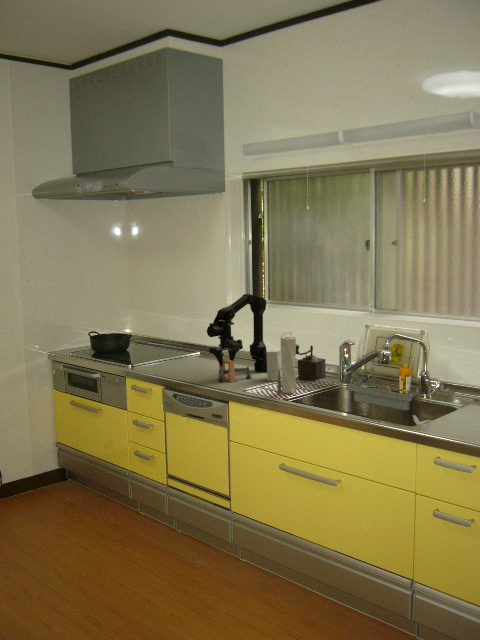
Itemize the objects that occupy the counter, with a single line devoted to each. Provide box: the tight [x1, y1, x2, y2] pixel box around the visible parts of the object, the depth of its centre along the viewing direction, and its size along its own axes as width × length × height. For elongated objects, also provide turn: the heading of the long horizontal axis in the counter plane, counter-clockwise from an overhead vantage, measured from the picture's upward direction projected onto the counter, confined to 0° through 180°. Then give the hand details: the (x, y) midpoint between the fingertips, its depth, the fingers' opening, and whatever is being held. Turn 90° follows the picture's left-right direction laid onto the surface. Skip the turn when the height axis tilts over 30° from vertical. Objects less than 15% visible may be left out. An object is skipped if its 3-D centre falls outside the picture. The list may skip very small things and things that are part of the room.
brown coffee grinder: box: [296, 343, 327, 382], centre depth 334 cm, size 16×11×18 cm
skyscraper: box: [277, 331, 297, 395], centre depth 308 cm, size 8×8×28 cm
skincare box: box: [266, 349, 283, 382], centre depth 334 cm, size 8×6×15 cm
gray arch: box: [217, 366, 252, 383], centre depth 336 cm, size 17×9×6 cm, turn 90°
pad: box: [215, 378, 239, 384], centre depth 336 cm, size 5×11×1 cm, turn 45°
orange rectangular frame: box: [218, 358, 236, 382], centre depth 336 cm, size 3×8×10 cm, turn 45°
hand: (226, 365), depth 335 cm, fingers open, 7 cm apart
